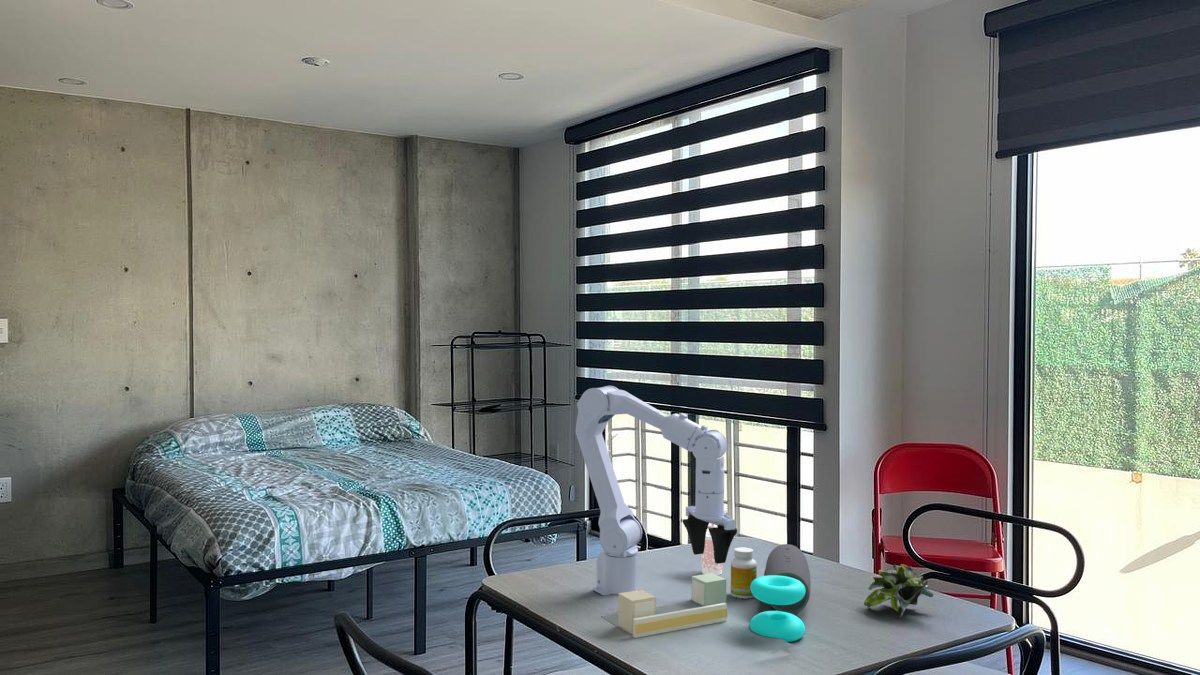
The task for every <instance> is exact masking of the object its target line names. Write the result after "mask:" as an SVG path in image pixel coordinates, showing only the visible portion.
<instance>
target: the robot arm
mask: <svg viewBox="0 0 1200 675" xmlns="http://www.w3.org/2000/svg"><path fill="white" fill-rule="evenodd" d="M576 407H577V416H576V417H577V418H576V424H575V435H576V438H577V442H578V444H579V448H580V450H581V454H582V458H583V461H584V462H585V463H584V464H585V467H586V470H587V472H588V477H589V478H590V482H591V483H590V484H591V485H592V488H593V491H594V496H595V498H596V500H597V504H598V507H599V510H600V514H599V517H598V523H597V524H598V527H599V544H600V547H601V548H602V550H601V551H600V552H599V553H598V556H597V559H596V586H593V587H592V591H595V592H596V593H598V594H599V595H601V596H607V595H619V593H624V592H630V591H637V590H638V589H639V549H638V543H640V542H641V540H642V537H643V528H642V525H641V524H640V522H639V521H638V520H637V519H636V518H635V516H634V513H633V510H632V509H631V508H630V507H629V505H627V504H626V503H625V501H624V497H623V495H622V494H623V493H622V492H621V491H622V490H621V489H620V488H621V487H620V484H619V482H618V479H617V476H616V473H615V469H614V467H613V463H612V460H611V457H610V453H609V451H608V448H607V445H606V442H605V439H604V435H603V432H604V430H605V428H606V427H607V425H608V423H609V422H610V420H611V419H612V418H613V417H614V416H617V415H629V416H630V417H633V418H635V419H637V420H640V421H641V422H644V423H645V424H648V425H650V426H653V427H654V428H657V429H659V430H660V432H661V434H662V437H663V439H665V440H667V441H669V442H671V443H673V444H675V445H676V446H679V447H680V448H682V449H684V450H686V451H687V452H690V453H691V452H692V455H693V456H694V458H695V459H696V460H695V502H694V504H695V505H691V506H690V505H689V506H685V516H686V517H687V518H685V519H682V524H683V526H684V527H685V530H686V532H687V533H688V534H687V535H688V538H689V540H690V544H691V550H692V554H693V555H701V554H703V553H704V548H705V537H706V531H709V532H710V535H711V538H712V542H713V548H714V560H715V563H717V564H719V563H723V564H724V563H726V561H727V557H728V552H729V551H730V550H729V549H730V547H731V544H732V543H733V542H732V541H733V540H734V538H735V536H736V534H737V533H738V528H736V519H735V518H732V517H730V516H729V514H728V511H726V510H725V456H724V455H725V454H726V452H727V450H728V440H727V438H726V437H725V435H724V434H722V433H721V432H720V431H719V430H718V429H709V430H708V428H709V427H708V426H707V425H705V424H703V425H700V424H698V423H696V422H695V421H692V420H691V419H689V418H688V417H689V416H688V414H686V413H680V414H679V413H672V414H670V415H668V414H666V413H664V412H662V411H661V410H659V409H657V408H656V407H654V406H652V405H650V404H649V403H647V402H645V401H643V400H641V399H640V398H638V397H636V396H635V395H633V394H631V393H629V392H628V391H626V390H623V389H619V388H617V387H616V386H614V385H605V386H602V387H592V388H591V387H590V388H588V389H586V390H585V391H584V392H583V393H582V394H581V396H580V398H579V400H578V401H577V403H576ZM710 524H711V525H712V524H714V526H716V527H714V528H712V527H710V528H708V527H709V525H710Z"/></svg>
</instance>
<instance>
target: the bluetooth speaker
mask: <svg viewBox="0 0 1200 675" xmlns="http://www.w3.org/2000/svg"><path fill="white" fill-rule="evenodd" d="M768 575H779V576H786V577H791V578H794V579H797V580H799V581H800V582H801V583H802V584H803V585H804V586H805V590H806V592H805V595H804V597H803V598H802V599H801V600H800V601H799V602H797V603H794V604H790V605H773V604H769V605H770V606H771V608H773V609H774V611H782V612H787V613H791V614H793V615H796V614H797V613H799V612H802V610H804V608H806V606H807V605H808V603H809V600H810V597H811V586H812V585H811V583H812V582H811V573H810V568H809V563H808V559H807V557H806V556H805V554H804V552H803V551H802V550H801V549H800V548H798V546H796V545H793V544H788V543H784V544H779V545H777V546H775V547H774V548H773V549H772V550H771V551H770V553H769V555H768V557H767V560H766V564H765V569H764V574H763V576H768Z"/></svg>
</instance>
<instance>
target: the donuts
mask: <svg viewBox="0 0 1200 675" xmlns="http://www.w3.org/2000/svg"><path fill="white" fill-rule="evenodd" d="M750 590H751V593H752V594H753V596H754V598H755V599H757V600H758V601H761V602H762V603H764V604H768V605H770V604H773V605H790V604H794V603H797V602H799V601H800V600H801V599H802V598H803V597H804V595H805V592H806V590H805V586H804V585H803V584H802V583H801V582H800V581H799V580H797V579H794V578H791V577H786V576H779V575H768V576H764V575H761V576H758V577H756V579H754V580H753V581H752V583H751V585H750ZM749 628H750V629H751V631H752V632H754V633H756V634H757V635H761V636H764V637H770V638H775V639H780V640H782V641H784V642H786V643H791V642H796V641H798V640H800V639H802V638H803V636H804V635H805V632H806V626H805V623H804V622H803V620H802V619H801V618H799V617H798V616H797V615H796V614H791V613H787V612H782V611H776V610H765V611H762V612H760V613H759V612H758V613H757V614H755V615H754V616H753V617H752V618H751V620H750V622H749Z"/></svg>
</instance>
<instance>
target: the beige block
mask: <svg viewBox="0 0 1200 675" xmlns="http://www.w3.org/2000/svg"><path fill="white" fill-rule="evenodd" d="M656 601H657V597H656V596H655V595H653V594H651V593H649V592H647V591H645V590H643V589H639V590H637V591H630V592H624V593H619V594H618V609H617V610H618V613H617V614H618V626H620V627H621V628H623V629H625V630H626V631H628V632H629V633H631V634H633V619H634V618H640V617H646V616H652V615H656V607H657V605H656V604H657V603H656Z"/></svg>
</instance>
